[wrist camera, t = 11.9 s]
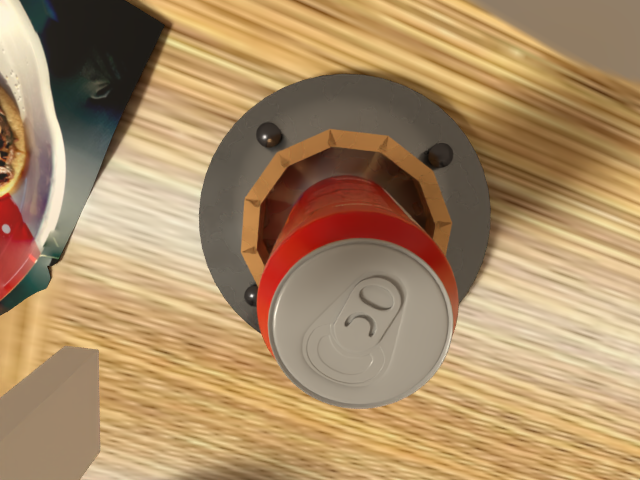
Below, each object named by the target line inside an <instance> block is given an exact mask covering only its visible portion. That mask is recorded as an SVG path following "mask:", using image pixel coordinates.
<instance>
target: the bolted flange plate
mask: <svg viewBox="0 0 640 480" xmlns="http://www.w3.org/2000/svg"><path fill="white" fill-rule="evenodd" d="M338 175H353V176H359V177H363V178H366V179H369V180H371V181H373V182H375V183H377V184H378V185H380V186H381V187H382V188H384V189H385V190H386V191H387V192H388V193H389V194H390V195H391V196H392V197H393V198H394V199H395V200H396V201H397V202H398V203H399V204H400V205H401V206H402V207H403V208H404V209H405V210H406V211H407V212H408V214H409V215H410V216H411V217H412V218H413V219H414V220H415V221H416V222H417V223H418V224H419V225H420V226H421V227H422V228H423V229H424V230H425V231H426V232H427V233H428V234H429V236H430V237H431V238H432V239H433V240H434V241H435V242H436V244H437V245H438V246H439V247H440V249H441V250H442V251H443V253H444V255H445V256H446V258H447V260H448V262H449V264H450V266H451V268H452V271H453V274H454V277H455V280H456V284H457V289H458V299H459V303H460V302H461V300H462V299H463V298H464V296H465V295H466V293H467V292H468V290H469V289H470V287H471V285H472V284H473V282H474V280H475V278H476V276H477V274H478V271H479V269H480V267H481V265H482V262H483V258H484V255H485V252H486V248H487V244H488V238H489V231H490V209H491V208H490V199H489V191H488V186H487V182H486V179H485V175H484V171H483V168H482V166H481V164H480V161H479V159H478V156H477V154H476V152H475V150H474V149H473V147H472V145H471V143H470V142H469V140H468V138H467V137H466V135H465V134H464V133H463V131H462V130H461V129H460V128H459V126H458V125H457V124H456V123H455V121H454V120H453V119H452V118H451V117H449V116H448V115H447V114H446V113H445V112H444V111H443V110H442V109H441V108H440V107H439V106H437V105H436V104H435V103H433V102H432V101H430V100H429V99H427V98H426V97H425V96H423V95H422V94H420V93H418V92H416V91H414V90H412V89H410V88H408V87H406V86H404V85H401V84H398V83H395V82H392V81H389V80H386V79H383V78H377V77H372V76H367V75H355V74H337V75H326V76H319V77H315V78H311V79H307V80H302V81H300V82H297V83H294V84H292V85H289V86H287V87H284V88H282V89H280V90H278V91H277V92H275V93H273V94H271V95H269V96H267V97H266V98H264V99H263V100H262V101H260V102H259V103H258V104H256V105H255V106H254V107H252V108H251V109H250V110H248V111H247V112H246V113H245V114H244V115H243V116H242V117H241V118H240V119H239V120H238V121H237V122H236V123H235V124H234V126H233V127H232V128H231V129H230V131H229V132H228V133H227V135H226V136H225V137H224V139H223V140H222V142H221V143H220V145H219V147H218V149H217V151H216V152H215V154H214V156H213V158H212V160H211V163H210V165H209V168H208V170H207V173H206V176H205V180H204V184H203V188H202V192H201V199H200V208H199V229H200V237H201V243H202V249H203V252H204V256H205V259H206V262H207V266H208V268H209V270H210V273H211V275H212V277H213V279H214V282H215V283H216V285H217V287H218V288H219V290H220V292H221V293H222V295H223V297H224V298H225V299H226V301H227V302H228V303H229V304H230V306H231V307H232V308H233V309H234V311H235V312H236V313H237V314H238V315H239V316H240V317H241V318H242V319H243V320H245V321H246V322H247V323H248V324H249V325H250V326H252V327H253V328H254V329H255V330H257V331H258V332H259V333H261V331H260V327H259V323H258V317H257V292H258V286H259V282H260V278H261V275H262V272H263V270H264V267H265V265H266V262H267V260H268V258H269V256H270V254H271V252H272V249H273V247H274V245H275V243H276V241H277V239H278V236H279V234H280V232H281V230H282V228H283V226H284V224H285V221H286V219H287V217H288V215H289V213H290V211H291V209H292V207H293V205H294V203H295V202H296V200H297V199H298V198H299V196H300V195H301V194H302V193H303V192H304V191H305V190H306V189H308V188H309V187H310V186H312V185H313V184H315V183H317V182H319V181H321V180H323V179H326V178H329V177H333V176H338Z"/></svg>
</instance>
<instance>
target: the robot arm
mask: <svg viewBox="0 0 640 480" xmlns="http://www.w3.org/2000/svg"><path fill="white" fill-rule="evenodd" d="M99 452H100V411H99V351H98V350H96V349H88V348H79V347H70V346H64V347H63V348H62V349H60V350H59V351H58V352H57V353H55V354H54V355H53V356H52V357H50V358H49V359H48V360H47V361H45V362H44V363H43V364H42V365H40V366H39V367H38V368H37V369H35V370H34V371H33V372H32V373H31V374H29V375H28V376H27V377H26V378H24V379H23V380H22V381H21V382H19V383H18V384H17V385H16V386H14V387H13V388H12V389H11V390H9V391H8V392H7V393H6V394H4V395H3V396H2V397H1V398H0V480H80V479H81V477H82V476H83V475H84V473H85V472H86V470H87V469H88V468H89V466H90V465H91V463H92V462H93V461H94V459H95V458H96V457H97V455H98V454H99Z"/></svg>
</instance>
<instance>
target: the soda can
mask: <svg viewBox="0 0 640 480" xmlns="http://www.w3.org/2000/svg"><path fill="white" fill-rule="evenodd" d="M458 308H459V299H458V289H457V284H456V280H455V277H454V274H453V271H452V268H451V266H450V264H449V262H448V260H447V258H446V256H445V255H444V253H443V251H442V250H441V249H440V247H439V246H438V245H437V244H436V242H435V241H434V240H433V239H432V238H431V237H430V236H429V234H428V233H427V232H426V231H425V230H424V229H423V228H422V227H421V226H420V225H419V224H418V223H417V222H416V221H415V220H414V219H413V218H412V217H411V216H410V215H409V214H408V212H407V211H406V210H405V209H404V208H403V207H402V206H401V205H400V204H399V203H398V202H397V201H396V200H395V199H394V198H393V197H392V196H391V195H390V194H389V193H388V192H387V191H386V190H385V189H384V188H382V187H381V186H380V185H378V184H377V183H375V182H373V181H371V180H369V179H366V178H363V177H359V176H353V175H338V176H333V177H329V178H326V179H323V180H321V181H319V182H317V183H315V184H313V185H312V186H310V187H309V188H308V189H306V190H305V191H304V192H303V193H302V194H301V195H300V196H299V198H298V199H297V200H296V202H295V203H294V205H293V207H292V209H291V211H290V213H289V215H288V217H287V219H286V221H285V224H284V226H283V228H282V230H281V232H280V234H279V236H278V239H277V241H276V243H275V245H274V247H273V249H272V252H271V254H270V256H269V258H268V260H267V262H266V265H265V267H264V270H263V272H262V275H261V278H260V282H259V286H258V292H257V317H258V323H259V327H260V331H261V334H262V337H263V339H264V342H265V344H266V346H267V348H268V349H269V351H270V353H271V354H272V356H273V357H274V359H275V360H276V361H277V363H278V364H279V366H280V368H281V369H282V371H283V372H284V373H285V375H286V376H287V377H288V378H289V379H290V380H291V381H292V382H293V383H294V384H295V385H296V386H297V387H298V388H299V389H301V390H302V391H303V392H305V393H306V394H308V395H310V396H311V397H313V398H315V399H317V400H320V401H322V402H324V403H327V404H330V405H334V406H338V407H343V408H352V409H366V408H375V407H380V406H385V405H388V404H391V403H394V402H397V401H399V400H401V399H404V398H406V397H407V396H409V395H411V394H412V393H414V392H416V391H417V390H418V389H420V388H421V387H422V386H423V385H424V384H426V383H427V382H428V381H429V380H430V379H431V378H432V376H433V375H434V374H435V373H436V372H437V370H438V369H439V367H440V366H441V364H442V363H443V361H444V359H445V357H446V355H447V352H448V350H449V347H450V343H451V339H452V336H453V333H454V330H455V326H456V322H457V317H458Z"/></svg>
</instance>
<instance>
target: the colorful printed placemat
mask: <svg viewBox="0 0 640 480" xmlns="http://www.w3.org/2000/svg"><path fill="white" fill-rule="evenodd" d="M164 26H165V25H164V24H162V23H161V22H159V21H158V20H156V19H154V18H153V17H151V16H150V15H148V14H146V13H145V12H143V11H142V10H140V9H138V8H137V7H135V6H134V5H132V4H130V3H129V2H127V1H125V0H0V315H2V314H4V313H6V312H8V311H9V310H11V309H12V308H13V307H15V306H16V305H18V304H19V303H20V302H22V301H23V300H24V299H26V298H28V297H29V296H31V295H33V294H35V293H36V292H39V291H41V290H44V289H46V288H47V286H48V284H49V281H50V274H49V270H48V268H47V266H53V265H54V264H55V263H57V262H58V260H59V258H60V255H61V253H62V251H63V249H64V247H65V245H66V243H67V241H68V239H69V237H70V235H71V233H72V231H73V229H74V227H75V225H76V223H77V220H78V218H79V216H80V214H81V212H82V210H83V207H84V205H85V203H86V201H87V199H88V196H89V194H90V191H91V189H92V187H93V184H94V182H95V179H96V177H97V174H98V172H99V169H100V166H101V164H102V161H103V159H104V156H105V154H106V151H107V148H108V146H109V143H110V141H111V139H112V136H113V134H114V131H115V129H116V127H117V125H118V122H119V120H120V118H121V116H122V113H123V111H124V109H125V107H126V105H127V103H128V101H129V99H130V96H131V94H132V92H133V90H134V88H135V86H136V84H137V82H138V80H139V78H140V76H141V74H142V72H143V70H144V68H145V65H146V63H147V61H148V59H149V57H150V55H151V53H152V51H153V49H154V47H155V45H156V43H157V40H158V38H159V36H160V34H161V32H162V30H163V28H164Z"/></svg>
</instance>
